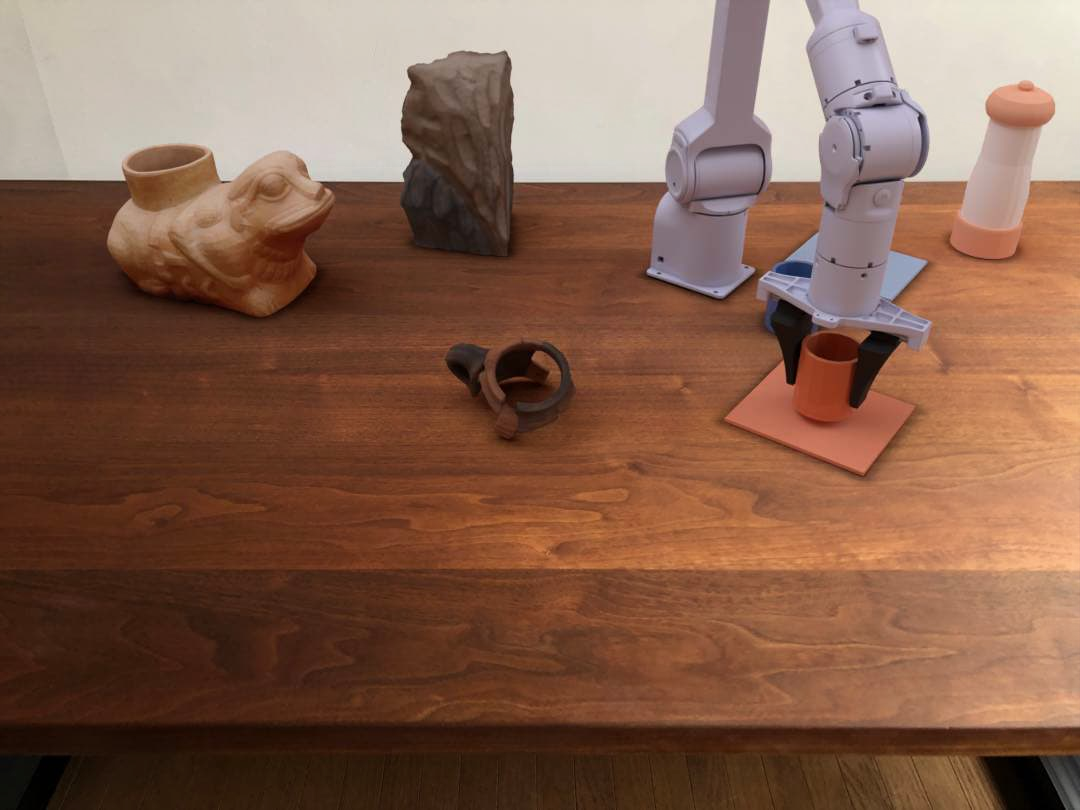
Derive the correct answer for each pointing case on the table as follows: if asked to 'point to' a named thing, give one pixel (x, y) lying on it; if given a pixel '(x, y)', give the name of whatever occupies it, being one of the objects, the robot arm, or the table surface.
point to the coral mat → (821, 424)
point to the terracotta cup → (826, 375)
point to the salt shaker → (1002, 172)
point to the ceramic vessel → (218, 228)
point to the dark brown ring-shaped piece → (508, 362)
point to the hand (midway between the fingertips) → (825, 390)
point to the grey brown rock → (460, 152)
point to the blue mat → (896, 271)
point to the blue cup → (789, 269)
